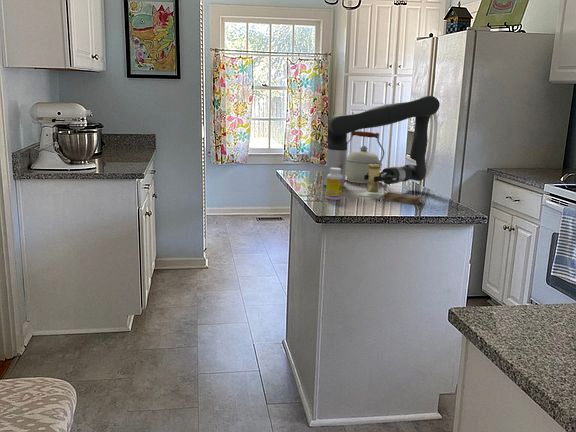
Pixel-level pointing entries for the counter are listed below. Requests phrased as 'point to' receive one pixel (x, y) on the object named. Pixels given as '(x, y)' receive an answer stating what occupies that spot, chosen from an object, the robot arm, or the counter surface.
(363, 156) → the kettle
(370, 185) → the gold cylindrical canister
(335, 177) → the supplement bottle
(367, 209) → the counter surface
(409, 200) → the brown flat block
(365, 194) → the pad
